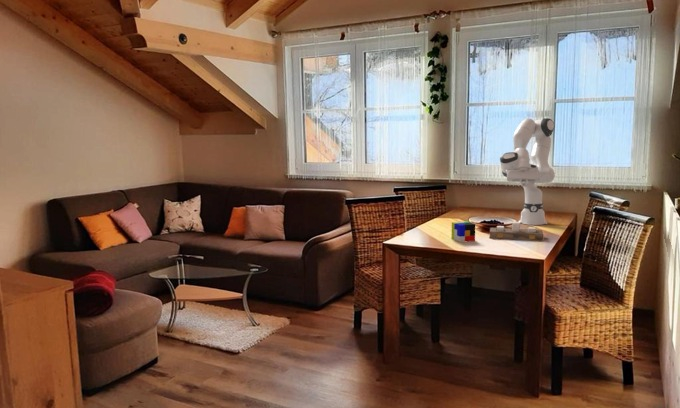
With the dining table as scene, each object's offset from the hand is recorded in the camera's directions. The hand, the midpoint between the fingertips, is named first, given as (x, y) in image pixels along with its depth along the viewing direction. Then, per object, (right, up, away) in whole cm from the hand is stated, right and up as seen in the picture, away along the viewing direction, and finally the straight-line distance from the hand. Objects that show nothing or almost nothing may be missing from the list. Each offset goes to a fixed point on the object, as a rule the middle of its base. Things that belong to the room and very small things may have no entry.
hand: (524, 186), depth 318 cm
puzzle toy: (-41, -33, -12) cm, 54 cm away
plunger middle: (-8, -28, -8) cm, 31 cm away
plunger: (+1, -31, -11) cm, 33 cm away
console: (-8, -31, -8) cm, 33 cm away
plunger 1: (-16, -31, -5) cm, 35 cm away
